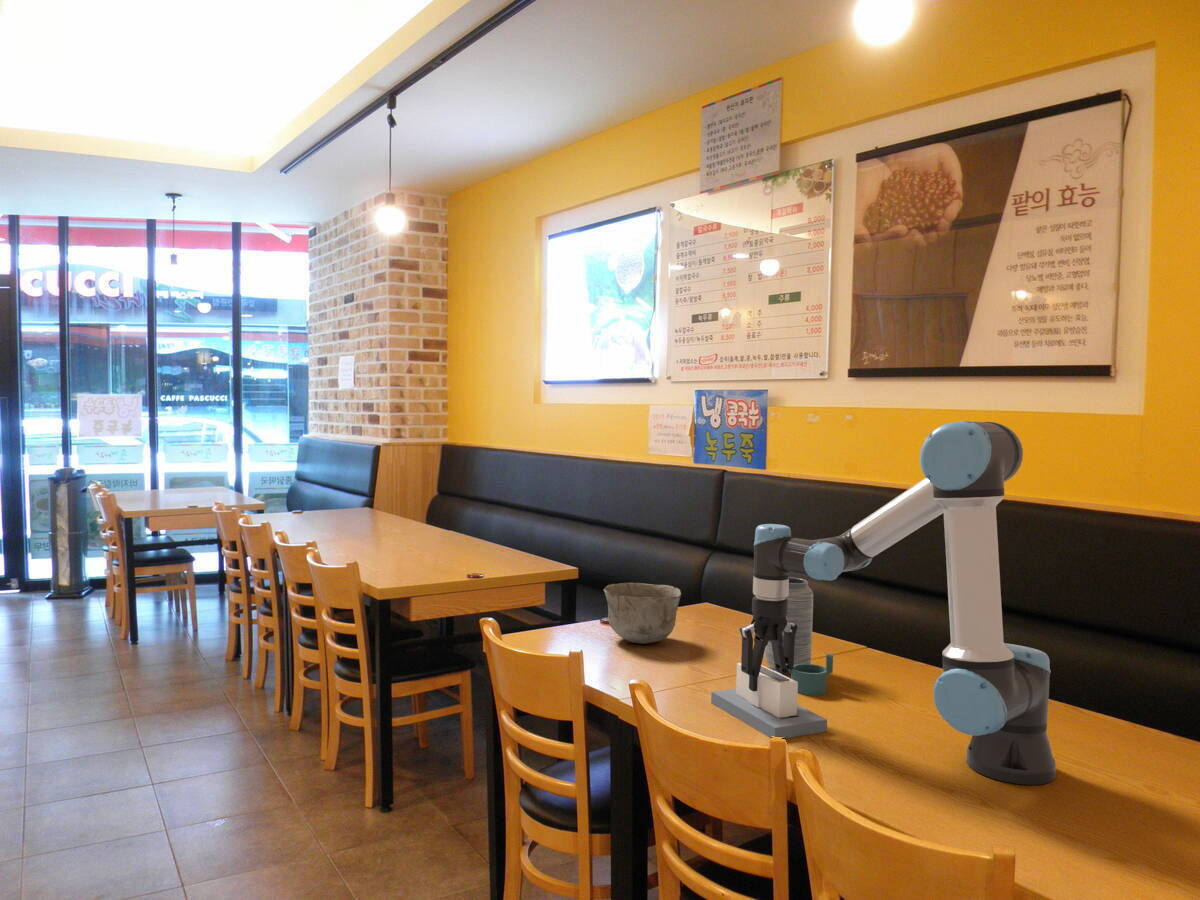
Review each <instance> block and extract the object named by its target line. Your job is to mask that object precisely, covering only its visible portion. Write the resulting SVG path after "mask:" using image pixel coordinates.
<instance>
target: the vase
mask: <svg viewBox="0 0 1200 900" xmlns="http://www.w3.org/2000/svg"><path fill="white" fill-rule="evenodd" d="M786 598H787V600H788V614H787V616H786V619H787V622H790V623H793V624H795V625H797V626H798V628H797V631H796V634H795V646H794V665H796V664H812V651H813V649H812V646H813V645H812V644H813V615H814V614H813V613H814V612H813V611H814V592H813V589H812V588H810V586H809V582H808V581H807V580H806V579H803V578H798V577H790V576H789V594H788V596H787V597H786ZM782 636H783V638H784V631H783V632H782ZM782 644H783V643H782ZM764 659H765V662H766V664H767V665H768V666H769V669H771V670H773V671H776V672H777V670H776V669H775V663H774V656H773V650H772V644H771V641H768V645H767V646H766V647H765V651H764ZM791 674H792V672H790V671H789V673H788V674H787V675H791Z"/></svg>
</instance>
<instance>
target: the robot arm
mask: <svg viewBox="0 0 1200 900" xmlns="http://www.w3.org/2000/svg"><path fill="white" fill-rule="evenodd" d="M919 454H920V455H919V464H920V468H921V472H922V473H923V475H924V478H923V479H922V480H920V481H919V482H917V483H916V484H914V485H912V486H911V487H909V488H908V489H907V490H905V491H904V492H902V493H901V494H899V495H898V496H896V497H895V498H893V499H892V500H890V501H889V502H887V503H886V504H885V505H883V506H881V507H880V508H878V509H877V510H875V511H874V512H873V513H871V514H870V515H868V516H867V517H865V518H864V519H862V520H860V521H858V523H856V524H855V525H853V526H852V527H851V528H849V529H848V530H846V531H845V532H843V533H842V534H840V535H838V536H832V537H827V538H818V539H806V538H805V539H804V538H797V537H794V536H792V530H791V527H790V526H788V525H784V524H778V523H777V524H776V523H765V524H759V525H757V527H756V528H755V532H754V533H755V534H754V542H753V575H752V576H753V579H752V594H753V595H754V596H753V597H752V598H751V599H752V600H751V613H752V619H751V622H750V625H747V626H746V627H744V626H741V627H740V628H739V632H740V635H741V658H740V659H741V660H740V661H741V662H740V663H741V671H742V672H744V673H746V674H748V675H749V689H750V690H751V704H753V705H755V706H756V707H761V697H762V677H761V676H759V673H760V669H761V665H763V664H762V663H763V659H764V657H765V647H766V646H767V645H768V641H771V644H772V650H773V656H774V663H775V669H776V670H777V672H778V673H780V674H782V675H784V676H786V675H789V674H788V673H789V671H788V670H789V669H790V670H792V669H793V667H794V646H795V634H796V631H797V628H798V626H797V625H795V624H793V623H790V622H787V619H786V616H787V614H788V600H787V598H786V597H787V596H788V594H789V577H790V574H792V575H797V576H802V577H805V578H806V577H807V578H810V579H815V580H817V581H822V580H823V581H834V580H836V579H837V578H838V576H840V575H841V574H842V573H844V572H849V571H850V572H853V571H858V570H860V569H863V568H865V567H867V566H869V565H870V563H871V562H872V560H873V558H874V557H875V556H878V555H879V554H880V553H881V552H883V551H885V550H886V549H888V548H890V547H892V546H893V545H895V544H896V543H898V542H899V541H901V540H903V539H904V538H905V537H907V536H910V534H912V533H913V532H915V531H917V530H918V529H920V528H921V527H924V525H927V524H928V523H929V522H931V521H933V520H934V519H936V518H938V517H939V516H941V515H942V514H943V525H944V528H943V529H944V543H945V544H944V545H945V559H946V560H945V563H946V577H947V578H946V579H947V580H946V581H947V598H948V615H949V632H950V643H949V644H948V645H947V646H946V647H945V648H944V649H943V650H942V668H943V669H942V670H943V672H942V673H941V674H940V676H939V677H938V678H937V679H936V681H935V683H934V686H933V689H932V690H933V691H932V693H933V694H932V697H933V702H934V706H935V707H936V710H937V712H938V713H939V715H940V717H941V718H942V719H943V720H944V721H946V722H947V724H948V725H949V726H950V727H951V728H953V729H954V730H956V731H958V732H960V733H961V734H964V735H966V736H967V735H968V736H971V737H970V741H969V744H968V746H967V748H966V764H967V765H968V767H970V768H971V769H972V770H973V771H975V772H977V773H978V774H981V775H982V776H986V777H988V778H991V779H994V780H997V781H1000V782H1006V783H1009V784H1010V783H1011V784H1017V785H1018V784H1019V785H1029V786H1030V785H1038V786H1039V785H1044V784H1049V783H1051V782H1053V781H1054V780H1055V779H1056V774H1057V773H1056V772H1057V763H1056V760H1055V758H1054V756H1053V751H1052V747H1051V744H1050V740H1049V737H1048V713H1049V697H1050V680H1051V679H1050V677H1051V673H1052V672H1051V671H1052V670H1051V669H1050V666H1051V665H1050V662H1051V661H1050V658H1049V656H1048V654H1047V653H1046V652H1044V651H1042V650H1040V649H1036V648H1032V647H1029V646H1023V645H1019V644H1012V643H1005V642H1004V629H1003V628H1004V627H1003V608H1002V595H1001V592H1002V591H1001V575H1000V574H1001V573H1000V558H999V556H1000V555H999V540H998V521H997V508H996V507H998V504H1000V503H1001V501H1003V499H1004V498H1005V496H1006V495H1005V483H1006V482H1008V481H1009V480H1011V479H1012V478H1014V476H1015V475H1016V474H1017V473H1018V472H1019V470H1020V468H1021V466H1022V462H1023V459H1024V449H1023V444H1022V443H1021V440H1020V438H1019V437H1018V435H1017V434H1016V433H1015V432H1014V431H1013V430H1012V429H1011V428H1010V427H1007V426H1006V425H1004V424H1001V423H999V422H995V421H993V422H992V421H970V420H969V421H967V420H964V421H963V420H959V421H956V422H949V423H945V424H942V425H939V426H938V427H937V428H935V429H933V431H931V432H930V433H929V435H928V436H927V437H926V438H925V440H924V442H923V444H922V446H921V449H920V453H919ZM783 631H784V638H783V636H782V632H783ZM782 643H783V644H782ZM775 672H776V671H775Z"/></svg>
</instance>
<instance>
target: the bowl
mask: <svg viewBox="0 0 1200 900" xmlns="http://www.w3.org/2000/svg"><path fill="white" fill-rule="evenodd" d="M603 592H604V595H605V597H606V601H607V602H606V603H607V610H608V615H607V620H608V624H609V626H610V628H611V629H612V631H614V633H615V634H617V635H618V636H619V637H620V638H622V639H623V640H625V641H627V642H630V643H634V644H640V645H647V644H653V643H656V642H660V641H663V640H664V639H666V638H668V636H670V635H671V633H672V632H673V630H674V628H675V625H676V622H677V611H678V610H679V603H680V599H681V595H682V592H681V589H679V587H675V586H672V585H668V584H651V583H642V582H620V583H612V584H608V585H607V586H605V587H604V588H603Z"/></svg>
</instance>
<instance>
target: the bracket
mask: <svg viewBox="0 0 1200 900" xmlns="http://www.w3.org/2000/svg"><path fill="white" fill-rule="evenodd" d="M833 669H834V653H833V654H832V653H826V654H825V666H823V665H819V664H814V663H813V664H812V663H810V664H796V665H794V667H793V669H792V670H790V669H789V670H788V671H790V672H792V674H790V675H791V678H790V679H792V680H795V681H797V682H798V694H799V695H805V696H812V697H813V696H815V697H816V696H822V695H825V694H826V693H827V691H828V690H827V688H828V685H827V682H828V675H830V674H833V673H834V672H833V671H834V670H833Z"/></svg>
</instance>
